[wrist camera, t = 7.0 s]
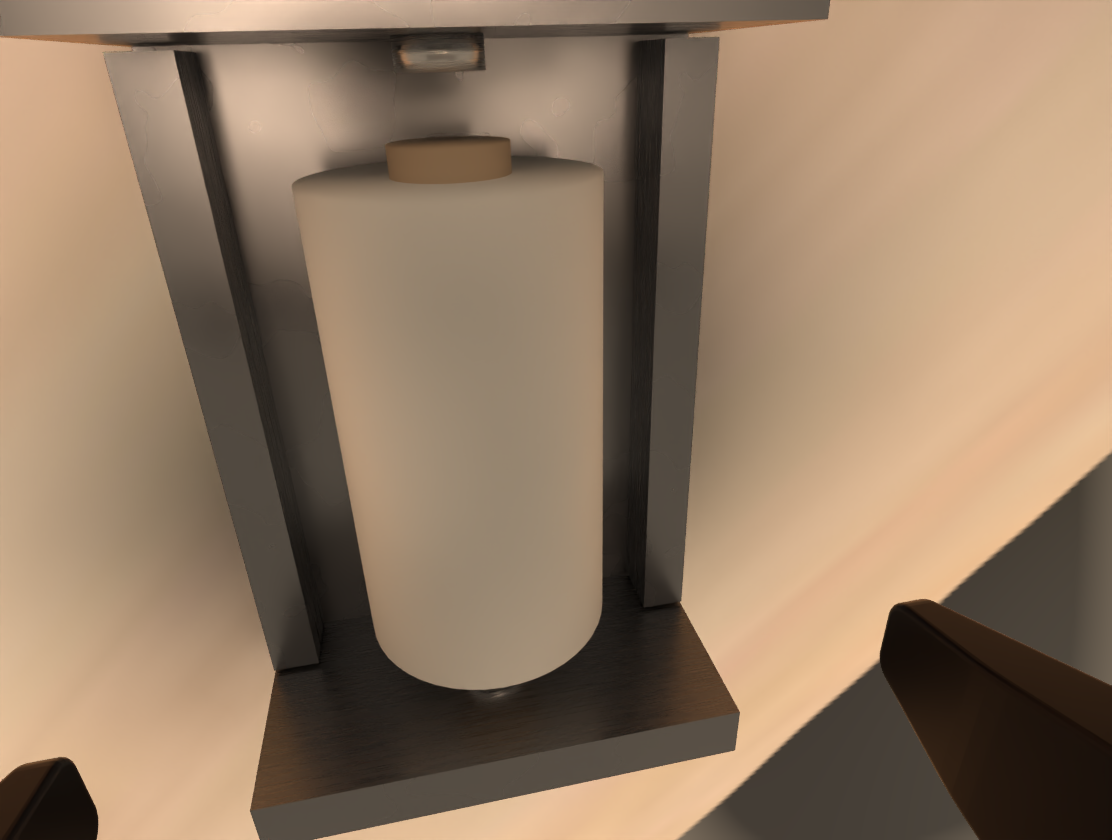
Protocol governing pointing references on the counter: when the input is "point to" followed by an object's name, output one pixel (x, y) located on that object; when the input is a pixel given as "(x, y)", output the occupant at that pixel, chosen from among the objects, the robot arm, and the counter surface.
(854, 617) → the counter surface
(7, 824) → the robot arm
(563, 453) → the roll
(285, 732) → the holder
